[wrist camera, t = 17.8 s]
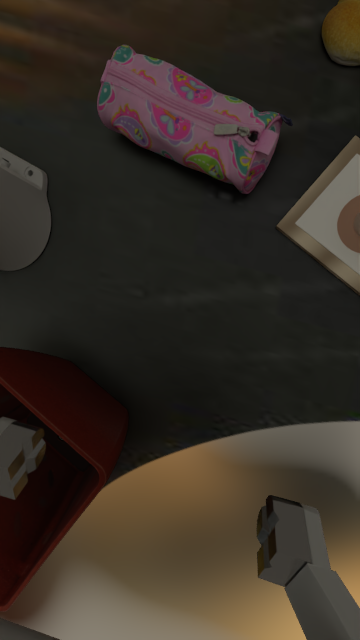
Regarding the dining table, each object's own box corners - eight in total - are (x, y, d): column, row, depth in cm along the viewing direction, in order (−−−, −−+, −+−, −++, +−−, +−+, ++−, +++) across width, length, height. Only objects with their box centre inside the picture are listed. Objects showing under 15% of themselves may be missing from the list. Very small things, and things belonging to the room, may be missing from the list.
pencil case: (287, 144, 36) (302, 93, 28) (249, 211, 38) (251, 183, 29) (144, 78, 40) (117, 13, 31) (114, 142, 41) (79, 98, 32)
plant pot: (63, 326, 44) (-43, 340, 28) (162, 408, 41) (110, 477, 25) (1, 420, 47) (-127, 483, 31) (90, 502, 45) (2, 618, 28)
